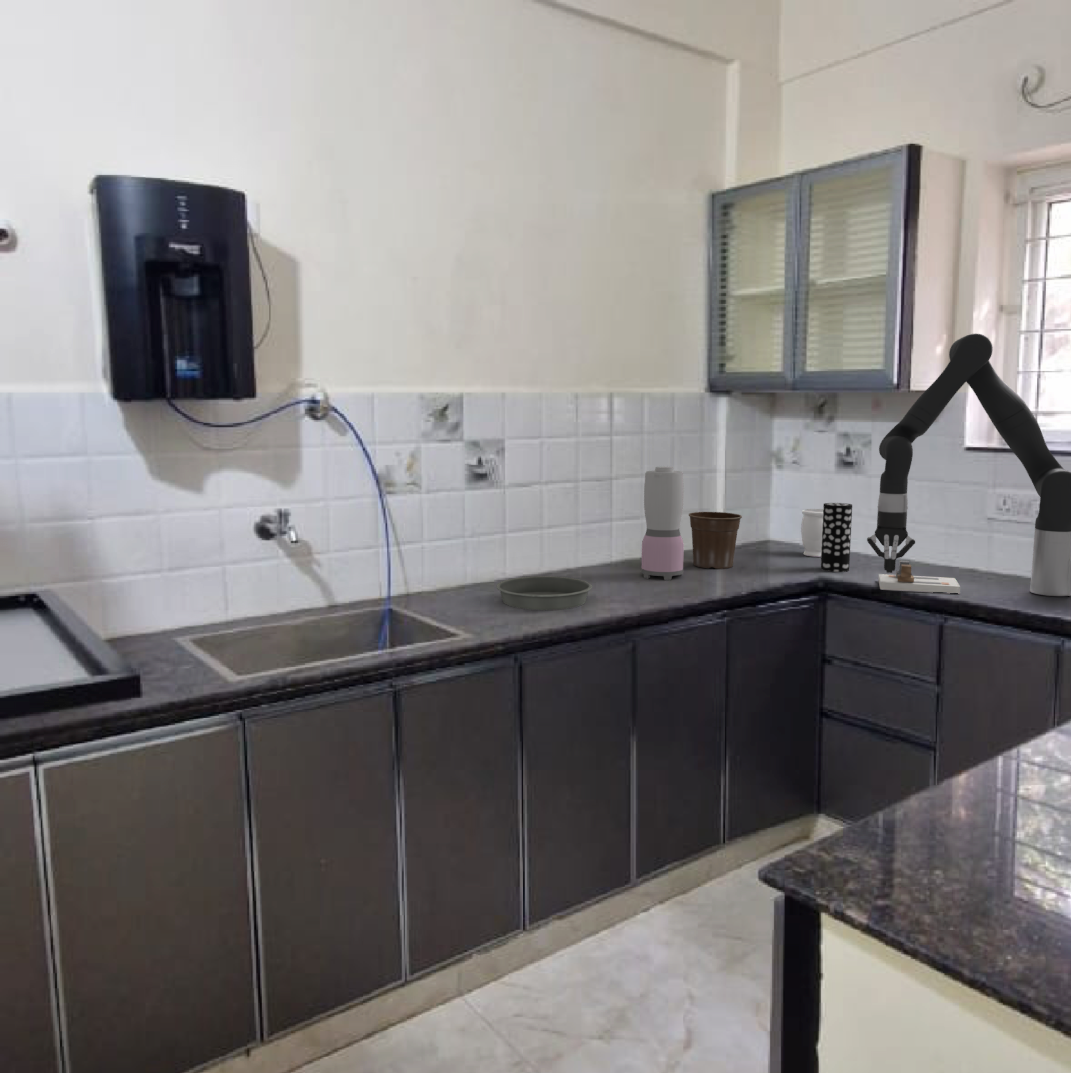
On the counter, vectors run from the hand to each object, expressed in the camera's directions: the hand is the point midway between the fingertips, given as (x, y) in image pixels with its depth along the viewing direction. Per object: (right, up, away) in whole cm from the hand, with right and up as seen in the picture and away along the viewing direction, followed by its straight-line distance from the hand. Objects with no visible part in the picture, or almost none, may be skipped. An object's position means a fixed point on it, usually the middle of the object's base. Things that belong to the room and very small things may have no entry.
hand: (889, 572), depth 262 cm
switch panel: (+8, -4, +2) cm, 10 cm away
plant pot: (-42, 0, +35) cm, 54 cm away
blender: (-60, -2, +19) cm, 62 cm away
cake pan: (-95, -7, -17) cm, 97 cm away
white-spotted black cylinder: (-6, 0, +29) cm, 30 cm away
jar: (-4, +3, +55) cm, 56 cm away
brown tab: (+4, -2, -1) cm, 5 cm away
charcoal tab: (+6, -1, +6) cm, 8 cm away
